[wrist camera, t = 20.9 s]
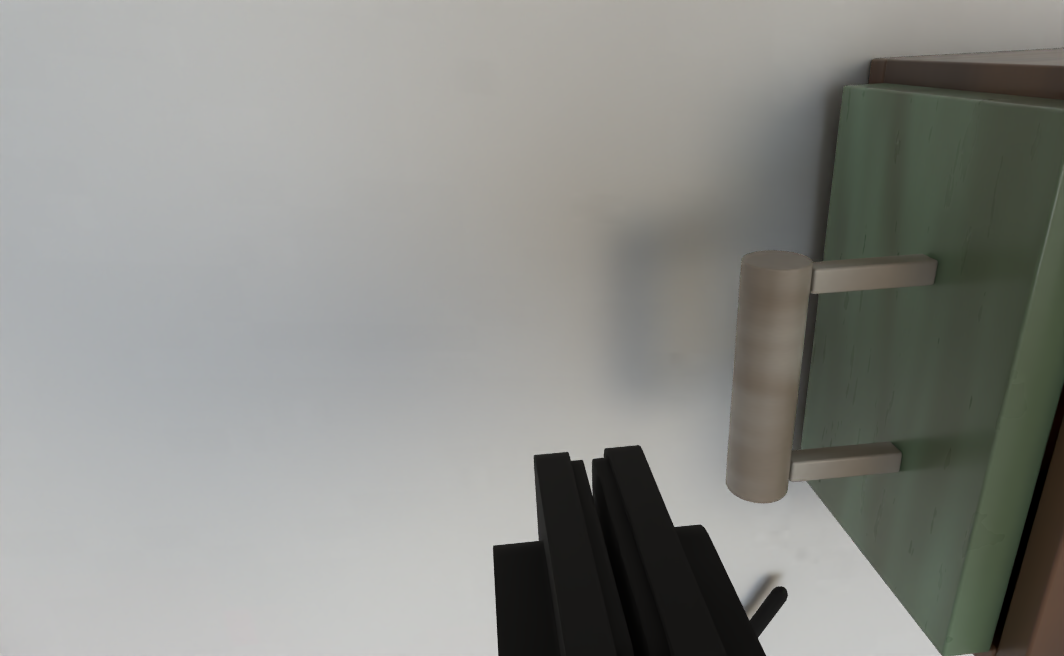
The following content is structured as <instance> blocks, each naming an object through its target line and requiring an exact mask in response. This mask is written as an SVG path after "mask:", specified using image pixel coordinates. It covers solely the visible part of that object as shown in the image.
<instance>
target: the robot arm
mask: <svg viewBox="0 0 1064 656" xmlns="http://www.w3.org/2000/svg"><path fill="white" fill-rule="evenodd" d="M534 471H535V486H536V502H537V518H538V534H539V541H534V542H525V543H515V544H505V545H495V546H493V557H494V577H495V596H496V616H497V636H498V656H766V655H765V653H764V651H763V648H762V646H761V644H760V642H759V640H758V638H757V636H756V634H755V632H754V629H753V627H752V625H751V623H750V621H749V619H748V617H747V615H746V613H745V610H744V608H743V606H742V604H741V602H740V600H739V598H738V596H737V594H736V591H735V589H734V587H733V585H732V583H731V581H730V579H729V577H728V575H727V572H726V570H725V568H724V566H723V564H722V562H721V560H720V558H719V556H718V553H717V551H716V549H715V547H714V545H713V543H712V541H711V539H710V537H709V534H708V533H707V531H706V529H705V528H704V527H703V526H702V525H691V526H681V527H674V525H673V523H672V521H671V518H670V516H669V513H668V511H667V508H666V506H665V504H664V501H663V499H662V496H661V494H660V492H659V489H658V487H657V484H656V482H655V479H654V477H653V475H652V472H651V470H650V467H649V465H648V462H647V460H646V458H645V455H644V453H643V450H642V448H641V447H640V446H639V445H636V446H626V447H615V448H605V450H604V458H597V459H593V460H592V488H593V496H592V492H591V488H590V485H589V481H588V477H587V473H586V470H585V466H584V462H583V460H576V461H571V460H570V456H569V453H568V452H563V453H552V454H541V455H534Z"/></svg>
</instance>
